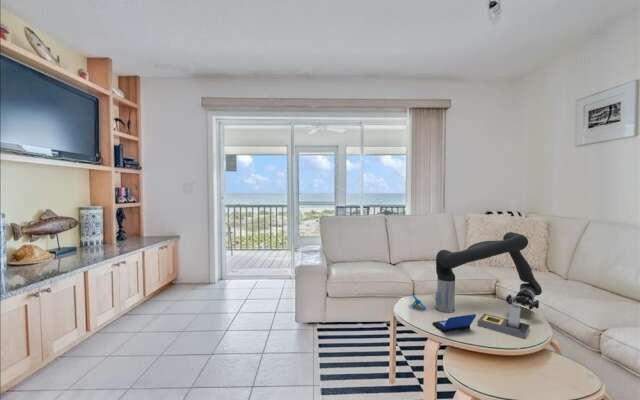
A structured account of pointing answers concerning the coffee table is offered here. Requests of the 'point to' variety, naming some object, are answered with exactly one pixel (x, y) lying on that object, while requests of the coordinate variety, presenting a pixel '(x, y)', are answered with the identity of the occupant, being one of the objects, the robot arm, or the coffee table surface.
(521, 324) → the plate with square holes
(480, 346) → the coffee table surface
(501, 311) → the coffee table surface
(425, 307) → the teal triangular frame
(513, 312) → the brushed steel peg
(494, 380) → the coffee table surface
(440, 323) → the handheld game console
